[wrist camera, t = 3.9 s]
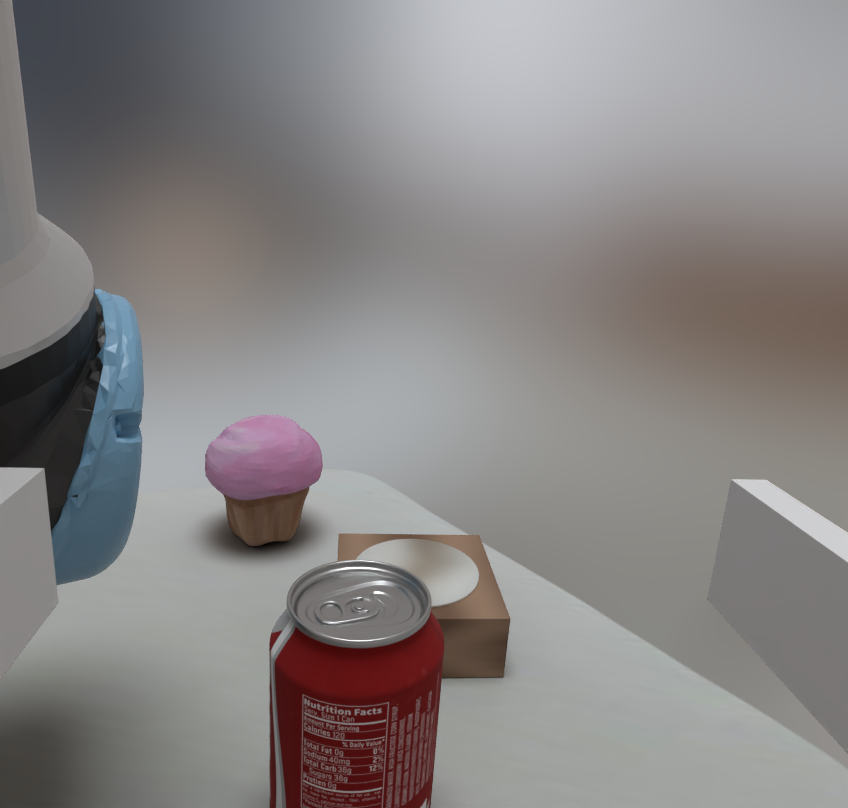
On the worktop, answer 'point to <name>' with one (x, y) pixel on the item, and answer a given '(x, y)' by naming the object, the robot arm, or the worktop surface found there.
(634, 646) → the worktop surface
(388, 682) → the soda can
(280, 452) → the cupcake
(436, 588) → the plinth
